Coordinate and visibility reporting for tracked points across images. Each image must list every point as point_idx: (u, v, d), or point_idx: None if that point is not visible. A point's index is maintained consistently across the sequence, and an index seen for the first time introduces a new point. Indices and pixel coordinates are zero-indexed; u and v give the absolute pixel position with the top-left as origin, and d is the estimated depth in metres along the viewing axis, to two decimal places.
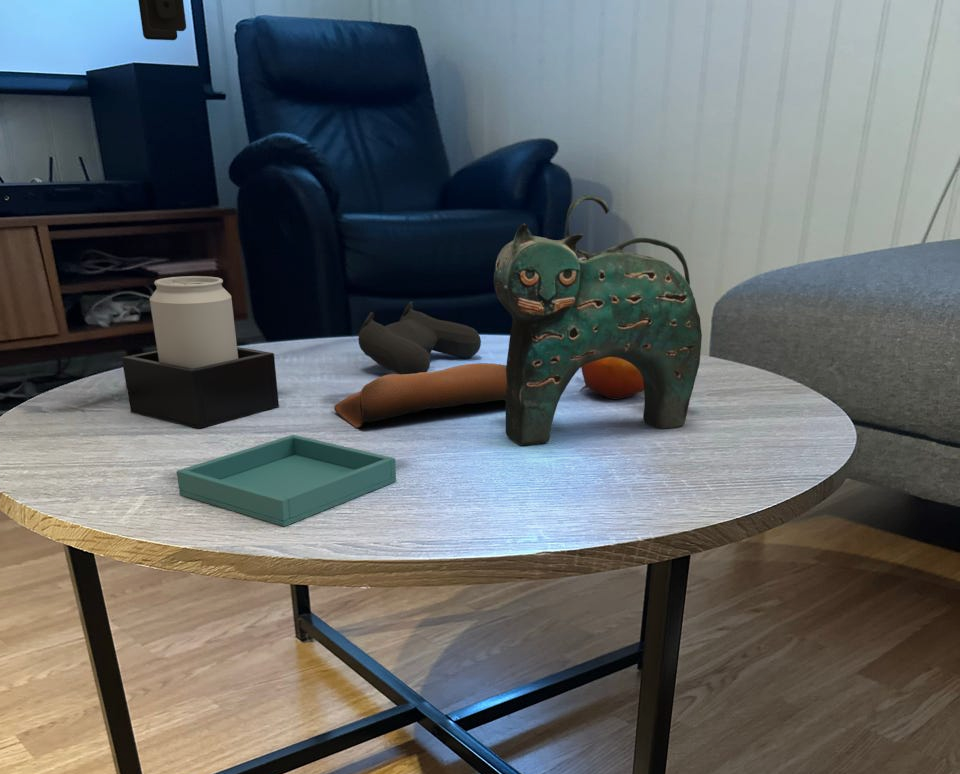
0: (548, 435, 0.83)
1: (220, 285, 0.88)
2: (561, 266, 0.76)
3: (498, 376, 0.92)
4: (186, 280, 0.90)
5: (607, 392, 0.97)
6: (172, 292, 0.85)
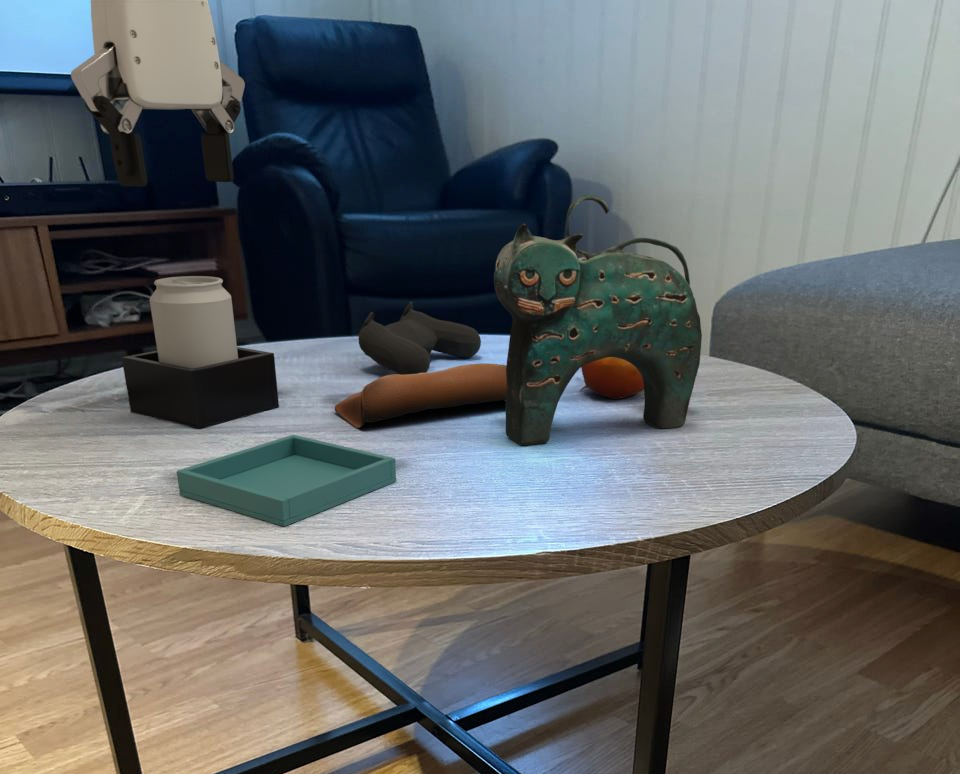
0: (548, 435, 0.83)
1: (220, 285, 0.88)
2: (561, 266, 0.76)
3: (499, 376, 0.92)
4: (186, 280, 0.90)
5: (607, 392, 0.97)
6: (172, 292, 0.85)
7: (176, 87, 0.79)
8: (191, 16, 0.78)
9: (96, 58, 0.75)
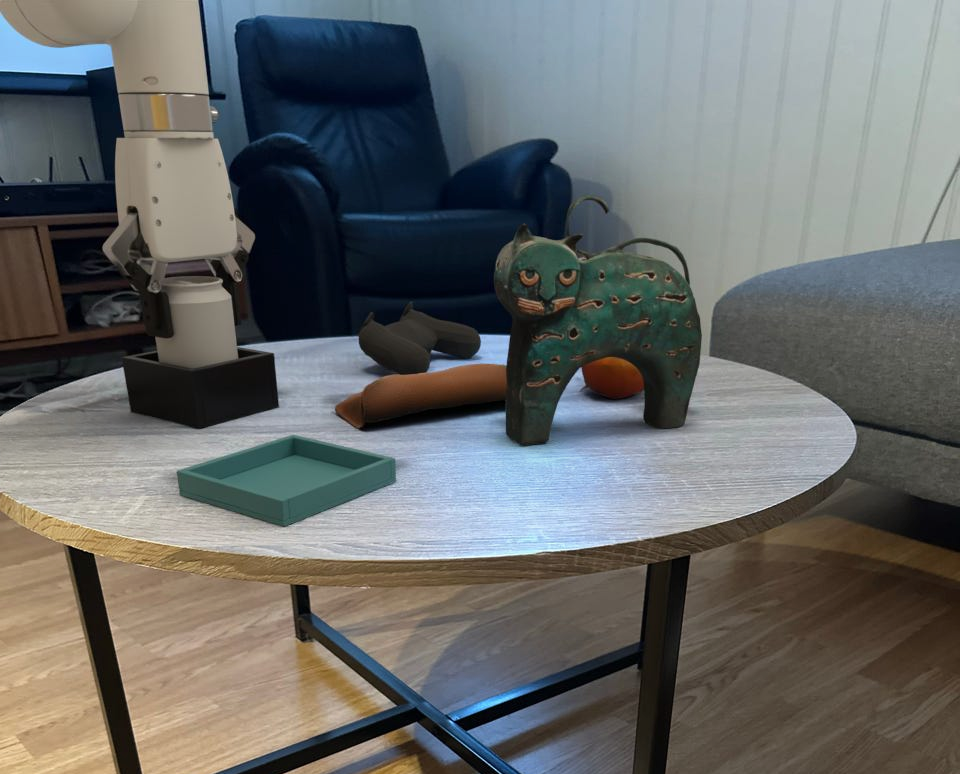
0: (548, 435, 0.83)
1: (220, 285, 0.88)
2: (561, 266, 0.76)
3: (499, 376, 0.92)
4: (186, 280, 0.90)
5: (607, 392, 0.97)
6: (172, 292, 0.85)
7: (194, 242, 0.84)
8: (209, 177, 0.84)
9: (123, 229, 0.80)
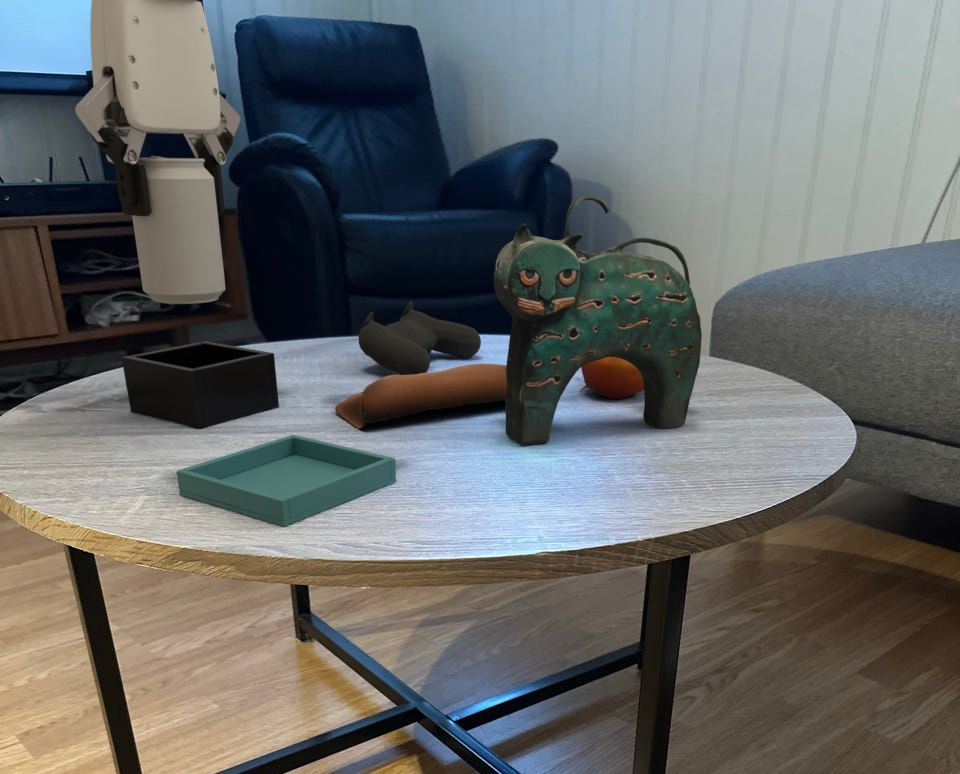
0: (548, 435, 0.83)
1: (202, 164, 0.83)
2: (561, 266, 0.76)
3: (500, 377, 0.92)
4: None
5: (607, 392, 0.97)
6: (150, 167, 0.80)
7: (174, 112, 0.79)
8: (191, 43, 0.79)
9: (98, 90, 0.75)
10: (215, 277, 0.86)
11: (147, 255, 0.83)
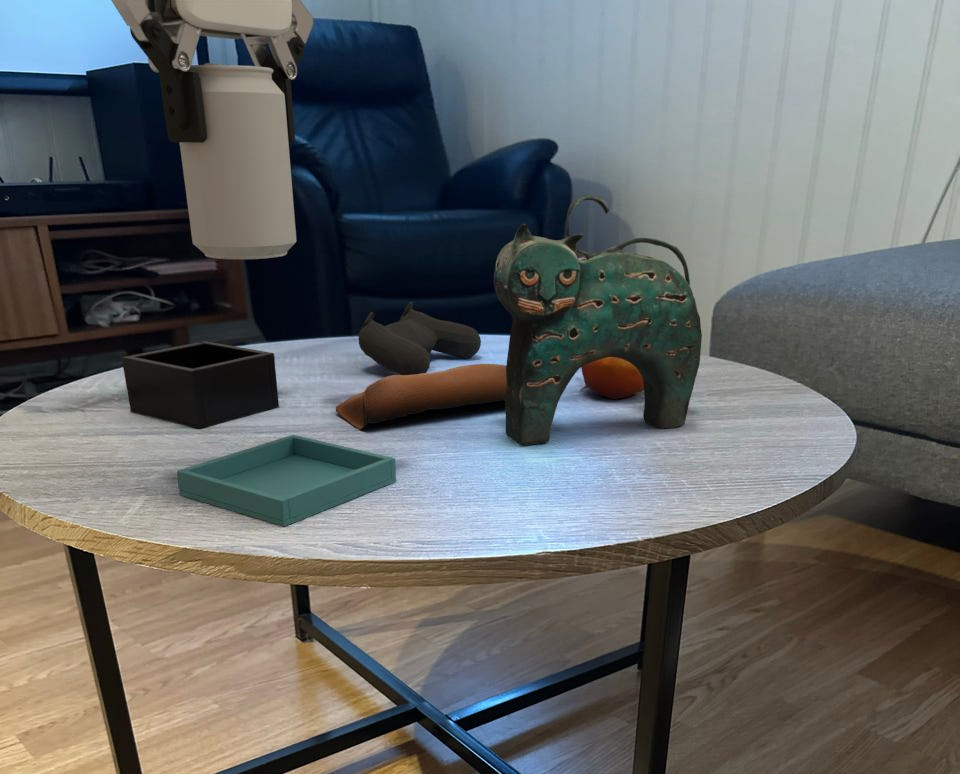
0: (548, 435, 0.83)
1: (270, 75, 0.64)
2: (561, 266, 0.76)
3: (500, 377, 0.92)
4: None
5: (607, 392, 0.97)
6: (205, 77, 0.61)
7: (236, 3, 0.60)
8: None
9: None
10: (285, 225, 0.67)
11: (200, 195, 0.64)
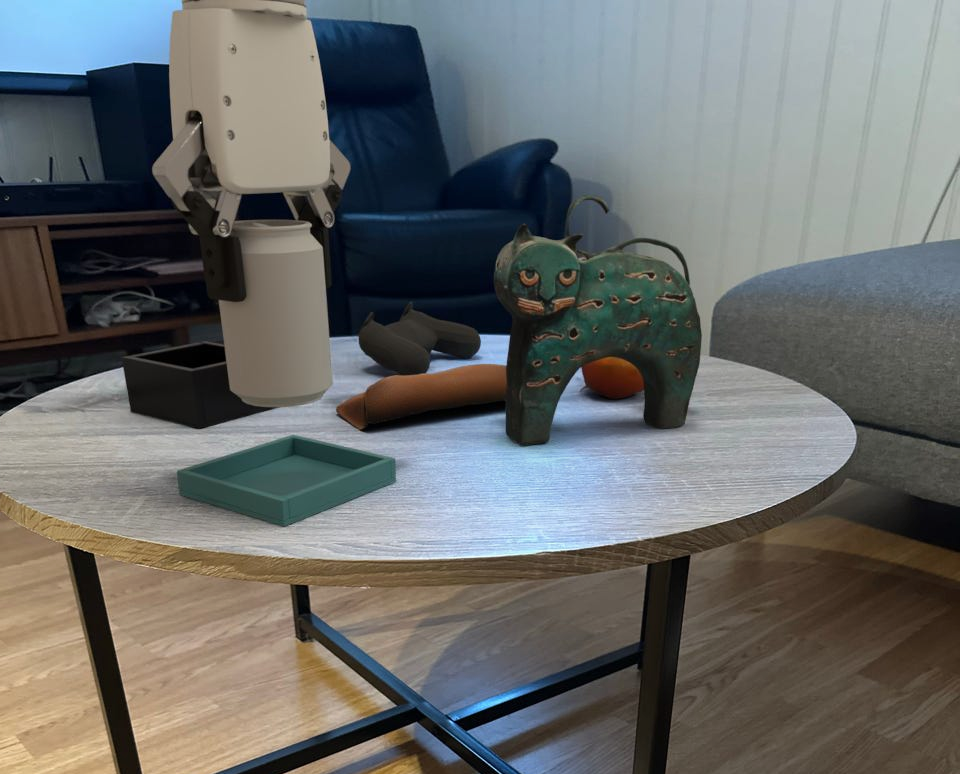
0: (548, 435, 0.83)
1: (308, 230, 0.64)
2: (561, 266, 0.76)
3: (501, 377, 0.92)
4: None
5: (607, 392, 0.97)
6: (245, 238, 0.61)
7: (276, 166, 0.60)
8: (298, 75, 0.60)
9: (182, 143, 0.56)
10: (322, 372, 0.67)
11: (239, 348, 0.65)
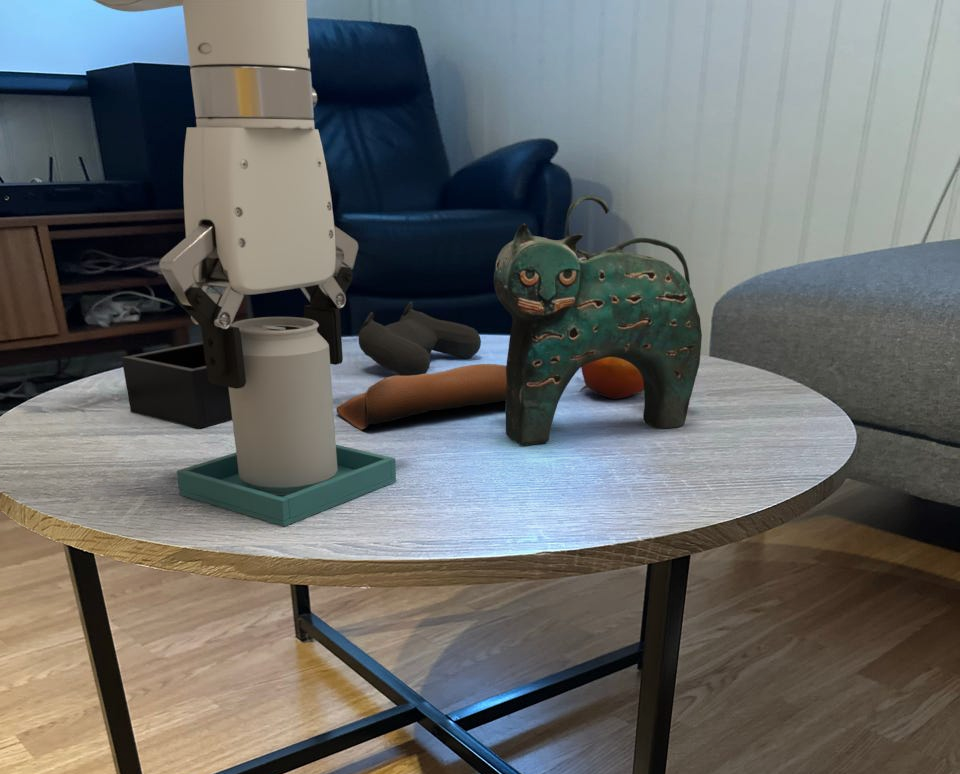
0: (548, 435, 0.83)
1: (315, 330, 0.67)
2: (561, 266, 0.76)
3: (501, 377, 0.92)
4: (268, 322, 0.69)
5: (607, 392, 0.97)
6: (255, 341, 0.65)
7: (285, 267, 0.63)
8: (306, 181, 0.62)
9: (191, 243, 0.59)
10: (327, 462, 0.70)
11: (248, 441, 0.68)
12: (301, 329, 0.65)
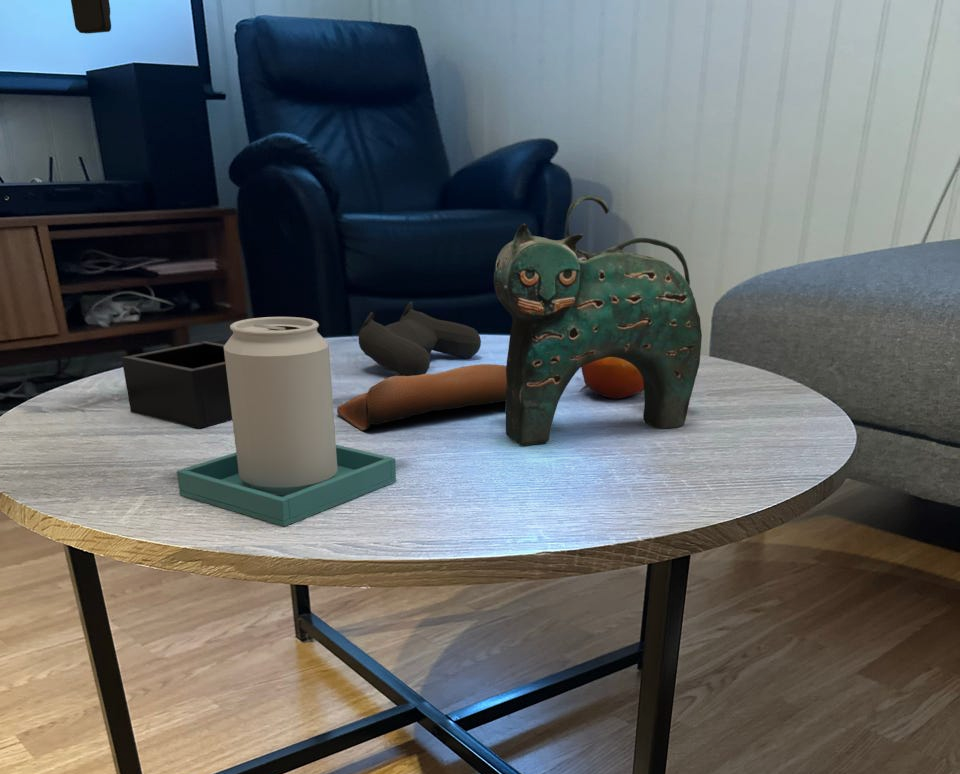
0: (548, 435, 0.83)
1: (315, 330, 0.67)
2: (561, 266, 0.76)
3: (502, 377, 0.92)
4: (268, 322, 0.69)
5: (607, 392, 0.97)
6: (255, 341, 0.65)
7: None
8: None
9: None
10: (327, 462, 0.70)
11: (248, 441, 0.68)
12: (301, 329, 0.65)
